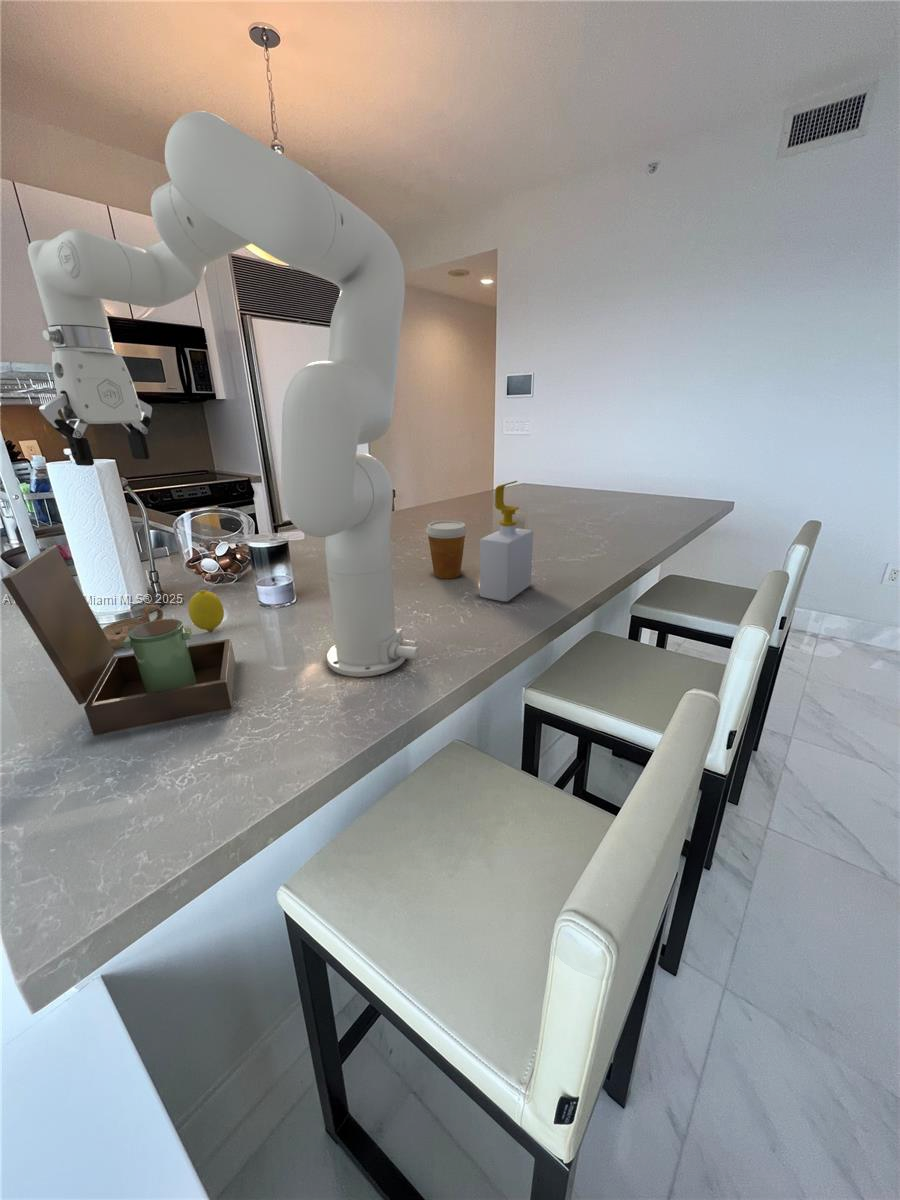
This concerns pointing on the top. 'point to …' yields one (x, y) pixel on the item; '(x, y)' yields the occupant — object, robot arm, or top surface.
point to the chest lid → (61, 620)
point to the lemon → (206, 610)
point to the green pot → (162, 654)
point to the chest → (129, 706)
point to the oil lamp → (128, 627)
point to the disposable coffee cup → (446, 547)
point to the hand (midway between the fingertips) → (114, 461)
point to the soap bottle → (505, 556)
